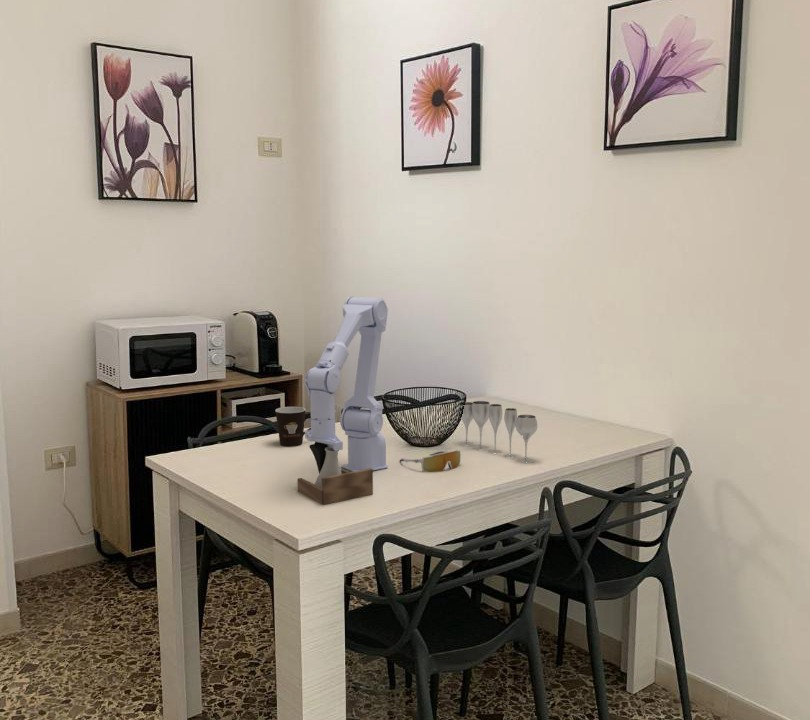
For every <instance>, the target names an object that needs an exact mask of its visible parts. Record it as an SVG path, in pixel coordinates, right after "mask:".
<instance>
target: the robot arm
mask: <svg viewBox="0 0 810 720" xmlns="http://www.w3.org/2000/svg"><path fill="white" fill-rule="evenodd" d="M388 312H389V309H388V306H387V303H386V301H385V300H384V298H383V297H355V296H348V297H347V298H346V299H345V301H344V303H343V307H342V316H343V317H342V318H343V319H342V322H341V324H340V326H339V329H338V331H337V334H336V336H335V339H334V340H333V341H330V342H328V343H327V344H326V347H324V350H323V352H322V354H321V356H320V358H319V359H318V361H317V363H316V365H315V366H314V367H312V368H310V369H309V370H308V371H307V373H306V374H305V379H304V386H305V388H306V390H307V397H308V398H309V400H310V401H309V402H310V413H311V415H310V428H311V430H308V429H306V430H304V431H305V434H304V439H306V441H308V442H311V443H312V442H314V443H312V444H309V449H310V450H311V452H312V454H313V456H314V460H315V463H316V466H317V470H318V473H319V474H320V471H321V469H322V467H323V464H324V461H325V457H326V451H325V448H326V447H328V446H329V447H331V448H333V449H334V450H335V451H337V450H339V451H341V450H343V448H344V445H343V444H344V443H343V441H342V440H341V439H340V438H339V437H338V436H337V435H336V396H335V395H336V391H337V390H338V388H339V387H340V381H341V376H342V372H341V371H342V368H343V367H344V365H345V363H346V361H347V359H348V357H349V355H350V354H349V351H348V347H349V346H350V344H351V342H352V341H353V339H354V338H355V336H356V335H357V333H358V332H359V334H360V344H359V353H358V359H357V360H358V361H357V366H356V367H357V369H356V376H355V381H354V382H355V383H354V390H353V391H354V392H353V396H352V397H350V398H349V399H348V400H346V401H345V402H344V404H343V410H342V412H341V414H340V420H339V421H340V422H339V423H340V426H341V427H340V428H341V430H342V431H343V432H344V435H346V436H347V463H345V464H341V468H343V469H345V470H347V471H349V472H354V471H359V470H364V469H369V468H371V469H373V471H377V470H383V469H387V468H389V466H388V465H387V445H386V443H387V442H386V438H385V437H384V435H383V433H381V431H382V428H383V425H384V417H383V406H382V405H381V404H380V402H378V401H377V399H376V398H375V391H376V390H375V389H376V382H377V375H378V374H377V373H378V366H379V360H380V359H379V357H380V351H381V350H380V349H381V341H382V335H383V333H384V332H385V331H386V326H387V322H388V321H387V320H388ZM361 408H362V409H361ZM319 474H318V475H319Z"/></svg>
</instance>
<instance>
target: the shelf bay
mask: <svg viewBox="0 0 810 720" xmlns="http://www.w3.org/2000/svg"><path fill="white" fill-rule="evenodd" d="M340 470H341V473H342V474H339V475H334V476H329V477H324V478H322V488H321V487H319V486H317V485H315V483H312V482H311V481H308V480H306V479H304V478H302V477H299V478H296V479H297V481H296V482H297V492H299V493H301V494H303V495H305V496H306V497H308V498H309V499H312V500H314V501H316V502H318V503H320V504H321V505H324V506H326V505H330V504H334V503H339V502H343V501H348V500H353V499H357V498H363V497H367V496H371V495H374V478H373V477H374V474H373V473H374V470H373V469H371V468H369V469H364V470H359V471H354V472H352V471H350V470H348V469H345V468H343V469H340Z"/></svg>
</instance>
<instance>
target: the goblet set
mask: <svg viewBox="0 0 810 720" xmlns="http://www.w3.org/2000/svg"><path fill="white" fill-rule="evenodd" d="M464 402H465V405H463V406H464V409H463V414H462V417H461V418H460V420H461V421H462V423H463V424H464V428H465V429H464V430H465V441H461V442H459V443H458V445H460V446H465V447H466V446H467V447H468V446H469V447H470V446H471V448H472V449H473V450H477V451H478V450H479V451H483V450H485V451H486V450H488V451H487V452H488V454H494V455H497V454H502V453H503V451H502V450H500V449H497V432H498V429H499V427H500V424H501V423H502V419H504V424H505V428H506V430H507V432H508V438H509V452H508V453H504V454H503V455H502V457H504V458H508V459H515V458H517V457H518V455H517V454H514V453H512V437H513V433H514V430H516V431H517V433H518V434H519V435H520V437H522V439H523V441H524V442H523V443H524V446H525V447H524V450H525V452H524V455H525V456H524V457H518V458H517V459H516V460H517V462H519V463H524V464H527V463H528V464H531V463H534V462H535V459H534V458H531V457H527V454H528V453H527V450H528V442H529V440H530V438H531V437H533V435H534V434H536V432H537V430H538V420H537V418H536V416H535V415H534V414H519V415H518V410H517V409H516V408H514V407H513V408H512V407H509V408H507V407H506V408H505V409H504V418H503V407H502V404H499V403H492V404H490V402H489V401H485V400H476V401H471V402H470V401H464ZM472 420H473V421H474V422H475V423H476V425H477V426H478V428H479V444H478V445H475V443H474V442H472V441H468V432H469V431H468V430H469V426H470V424H471V422H472ZM488 420H489V423H490V425H491V426H492V429H493V434H494V436H493V438H494V449H490V450H489V446H487V445H482V435H483V433H482V432H483V428H484V426H485V424H486V423H487V422H488Z"/></svg>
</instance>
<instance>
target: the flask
mask: <svg viewBox="0 0 810 720" xmlns="http://www.w3.org/2000/svg"><path fill="white" fill-rule="evenodd" d="M325 451H326V457H325V461H324V464H323V467H322V469H321V471H320V474H318V476H317V478H316V480H315V482H314V484H315V485H317V486H319V487H321V488H322V478H324V477H329V476H334V475H339V474H342V473H341V470H342V469H341V467H340V464H339V457H338V456H339V452H340V450H337V451H335V450H334V449H333V448H331V447H329V446H328V447H326V448H325Z"/></svg>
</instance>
